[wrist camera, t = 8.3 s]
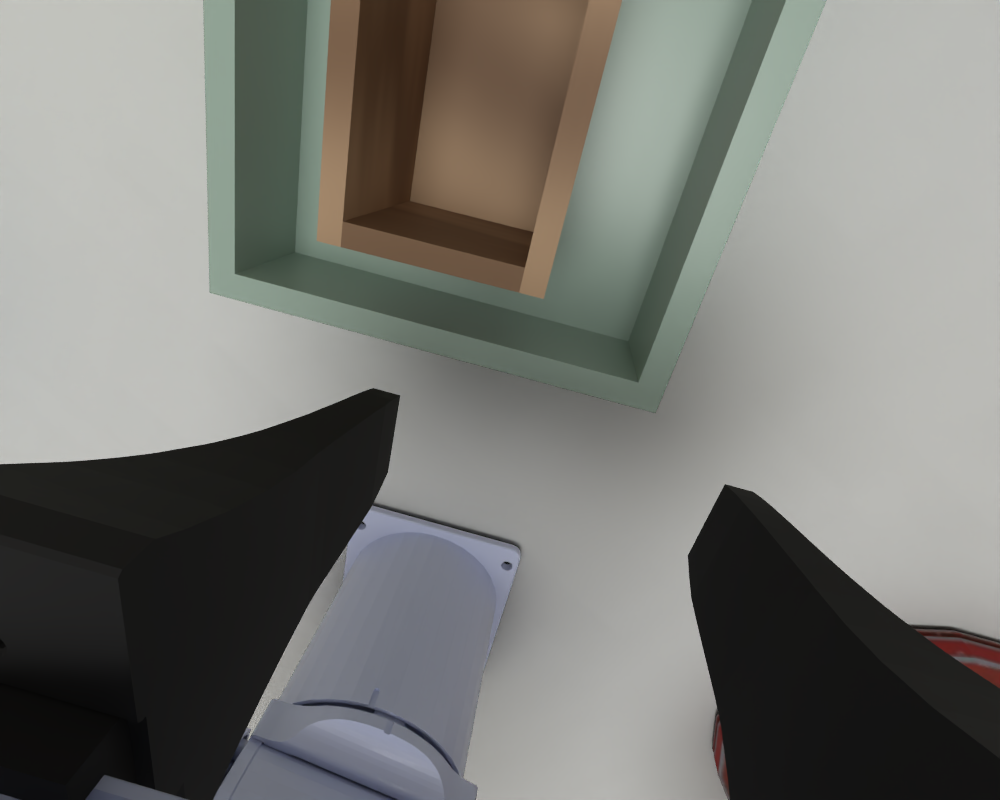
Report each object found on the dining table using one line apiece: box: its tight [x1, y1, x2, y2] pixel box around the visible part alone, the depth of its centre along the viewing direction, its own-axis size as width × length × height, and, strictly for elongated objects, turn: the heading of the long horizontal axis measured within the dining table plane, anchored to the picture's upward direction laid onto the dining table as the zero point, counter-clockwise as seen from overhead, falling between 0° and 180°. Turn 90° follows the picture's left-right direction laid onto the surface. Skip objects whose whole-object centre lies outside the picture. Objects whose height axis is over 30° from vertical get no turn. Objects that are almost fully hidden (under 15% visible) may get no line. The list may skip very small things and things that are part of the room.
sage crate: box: [203, 0, 826, 413], centre depth 15 cm, size 14×14×4 cm
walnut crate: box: [317, 0, 622, 299], centre depth 13 cm, size 8×6×6 cm
